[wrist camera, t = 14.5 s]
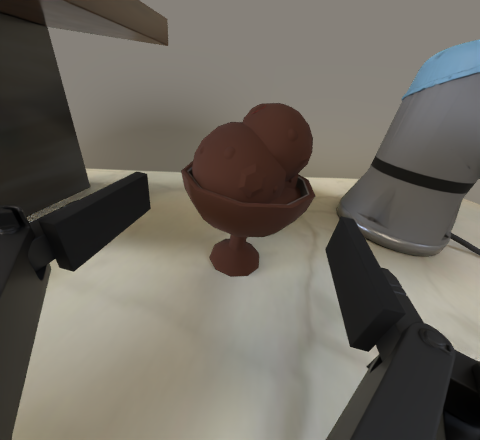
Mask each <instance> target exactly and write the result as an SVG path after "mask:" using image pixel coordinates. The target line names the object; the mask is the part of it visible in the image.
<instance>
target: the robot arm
mask: <svg viewBox="0 0 480 440" xmlns="http://www.w3.org/2000/svg"><path fill="white" fill-rule="evenodd" d="M478 179H480V40H475V41H471V42H467V43H463V44H460V45H456V46H453V47H450V48H448V49H445V50H443V51H441V52H439V53H437V54H435V55H434V56H432V57H431V58H430V59H428V60H427V61H426V62H425V63H424V64H423V66H422V67H421V68H420V70H419V72H418V73H417V75H416V77H415V79H414V81H413V83H412V84H411V86H410V88H409V90H408V91H407V93H406V94H405V95H404V96H403V98H402V103H401V105H400V107H399V109H398V111H397V113H396V115H395V117H394V119H393V121H392V123H391V125H390V127H389V129H388V131H387V134H386V135H385V138H384V140H383V141H382V144H381V146H380V148H379V150H378V152H377V154H376V156H375V158H374V160H373V162H372V164H371V166H370V168H369V169H368V171H367V172H366V173H365V174H364V175H363V176H362V177H361V178H360V179H359V180H358V181H357V183H356V184H355V185H354V186H353V187H352V188H351V189H350V190H349V191H348V192H347V193H346V194H345V195H344V196H343V197H342V199H341V201H340V203H339V205H338V207H337V213H338V215H339V217H340V220H339V222H338V224H337V226H336V229H335V231H334V233H333V235H332V237H331V239H330V241H329V243H328V245H327V247H326V249H325V250H326V254H327V258H328V262H329V266H330V270H331V274H332V278H333V281H334V285H335V289H336V293H337V297H338V301H339V305H340V309H341V313H342V317H343V321H344V325H345V329H346V332H347V336H348V340H349V344H350V347H353V348H356V349H360V350H364V351H367V352H369V351H370V350H371V349H372V348H373V347H374V346H375V345H376V346H377V349H378V352H379V355H378V356H377V357H376V358H375V359H374V360H373V361H372V362H371V363H370V364H369V365H368V366H367V368H369V369H368V371H367V373H366V374H365V376H364V378H363V379H362V381H361V383H360V384H359V386H358V388H357V389H356V391H355V393H354V394H353V396H352V397H351V399H350V401H349V402H348V404H347V406H346V407H345V409H344V411H343V412H342V414H341V416H340V417H339V419H338V421H337V422H336V424H335V426H334V427H333V429H332V431H331V432H330V434H329V435H328V437H327V439H326V440H480V362H478V361H476V360H474V359H472V358H470V357H468V356H466V355H464V354H462V353H460V352H458V351H456V350H454V348H453V346H452V344H451V343H450V342H449V341H448V339H447V338H446V337H445V336H444V335H443V334H441V333H440V332H439V331H438V330H436V329H435V328H433V327H431V326H430V325H428V324H425V323H424V322H423V321H422V319H421V317H420V316H419V314H418V313H417V311H416V309H415V308H414V306H413V304H412V303H411V301H410V299H409V298H408V296H406V293H405V291H404V289H403V288H402V286H401V285H400V283H399V281H398V280H397V278H396V277H395V276H394V275H393V274H392V273H391V272H390V271H389V270H388V269H385V268H381V267H380V265H379V264H378V262H377V260H376V258H375V256H374V255H373V253H372V251H371V249H370V247H369V246H368V244H367V242H366V240H365V238H367V239H369V240H371V241H373V242H375V243H377V244H379V245H382V246H384V247H387V248H389V249H392V250H395V251H398V252H402V253H406V254H410V255H416V256H433V255H436V254H438V253H440V251H441V250H442V249H443V248H444V247H445V246H446V245H447V244H448V242H449V240H450V238H451V239H452V240H454V241H456V242H458V243H460V244H461V245H463V246H465V247H466V248H468V249H469V250H471V251H473V252H475V253H476V254H478V255H480V249H478V248H477V247H475V246H473V245H472V244H470V243H469V242H467V241H465V240H463V239H462V238H460V237H458V236H456V235H454V234H452V233H451V230H452V228H453V226H454V223H455V220H456V217H457V214H458V211H459V208H460V205H461V201H462V199H463V198H464V196H465V195H466V194H467V192H468V191H469V190H470V189H471V188H472V186H473V185H474V184H475V183H476V181H477V180H478ZM150 209H151V207H150V197H149V188H148V178H147V174H145V173H141V172H135V173H133V174H131V175H129V176H127V177H125V178H123V179H121V180H119V181H117V182H115V183H113V184H111V185H109V186H107V187H105V188H103V189H101V190H99V191H97V192H95V193H93V194H91V195H89V196H87V197H85V198H83V199H80V200H77V201H73V202H71V203H69V204H67V205H65V207H61V208H59V209H57V211H56V210H55V211H53V212H51V213H49V214H47V215H45V216H43V217H41V218H39V219H37V220H35V221H33V222H31V223H29V221H28V219H27V217H26V215H25V213H24V211H23V209H22V208H21V207H19V206H15V205H3V206H0V440H12V433H13V429H14V424H15V420H16V416H17V412H18V407H19V403H20V399H21V395H22V390H23V386H24V382H25V378H26V373H27V369H28V365H29V361H30V356H31V352H32V348H33V344H34V339H35V335H36V331H37V327H38V322H39V318H40V314H41V310H42V305H43V301H44V297H45V293H46V288H47V284H48V280H49V276H50V271H51V266H50V264H49V263H50V262H51V261H53V260H54V259H56V261H57V263H58V265H59V267H60V268H63V269H66V270H70V271H75V270H76V269H78V268H79V267H80V266H81V265H83V264H84V263H85V262H86V261H87V260H89V259H90V258H91V257H92V256H94V255H95V254H96V253H97V252H98V251H100V250H101V249H102V248H103V247H104V246H106V245H107V244H108V243H109V242H111V241H112V240H113V239H114V238H115V237H117V236H118V235H119V234H120V233H122V232H123V231H124V230H125V229H126V228H128V227H129V226H130V225H131V224H133V223H134V222H135V221H136V220H137V219H139V218H140V217H141V216H142V215H143V214H145V213H146V212H147V211H148V210H150ZM364 237H365V238H364Z"/></svg>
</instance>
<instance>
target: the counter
mask: <svg viewBox="0 0 480 440" xmlns="http://www.w3.org/2000/svg"><path fill="white" fill-rule="evenodd" d="M47 27H52V28H59V29H65V30H71V31H77V32H83V33H90V34H96V35H102V36H109V37H115V38H121V39H128V40H134V41H141V42H146V43H153V44H159V45H165V46H168V25H167V19H166V18H165V17H163V16H162V15H160V14H159V13H157V12H156V11H154V10H153V9H151V8H150V7H148V6H146V5H145V4H144V3H142V2H140V1H139V0H0V206H3V205H15V206H19V207H21V208H22V209H23V211H24V213H25V215H26V216H28V215H30V214H32V213H35V212H37V211H39V210H41V209H43V208H45V207H48V206H50V205H52V204H54V203H56V202H58V201H61V200H63V199H65V198H67V197H69V196H71V195H74V194H76V193H78V192H80V191H82V190H85V189H87V188H89V187H90V184H89V180H88V176H87V173H86V169H85V165H84V162H83V158H82V155H81V151H80V147H79V143H78V140H77V136H76V132H75V128H74V125H73V121H72V118H71V113H70V110H69V106H68V102H67V99H66V95H65V92H64V88H63V84H62V80H61V76H60V73H59V69H58V66H57V62H56V58H55V54H54V50H53V47H52V43H51V39H50V36H49V32H48V28H47Z"/></svg>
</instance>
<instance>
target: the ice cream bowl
mask: <svg viewBox="0 0 480 440" xmlns="http://www.w3.org/2000/svg"><path fill="white" fill-rule="evenodd" d="M312 145H313V137H312V134H311V130H310V127H309V125H308V123H307V122H306V121H305V119H304V118H303V117H302V115H301V114H300V113H299V112H298V111H297V110H295V109H293V108H292V107H289V106H287V105H284V104H280V103H270V104H260V105H257V106H256V107H254V108H252V109H251V110H250V112H249V113H248V115H246V117H244V120H243V122H230V123H227V124H224V125H221V126H218V127H217V128H216V129H215V130H213V131H212V132H211V133H210V134H209V135H208V136H207V137H205V138H204V139H203V140H202V142H201V144H200V145H199V147H198V149H197V150H196V152H195V155H194V160H193V161H192V162H191V163H190V164H189V165H187V166H186V167H185V168H184V169H183V170H182V171H181V172H182V177H183V182H184V186H185V189H186V191H187V193H188V195H189V197H190V199H191V201H192V203H193V204H194V206H195V207H196V209H197V210H198V212H199V213H200V215H201V216H202V218H203V219H204V220H205V221H206V222H208V223H209V224H210V225H211V226H213V227H215V228H217V229H219V230H222V231H224V232H227V233H229V234H231V236H230V239H225V240H223V241H221V242H219V243H217V244H215V245H214V247H213V250H212V252H211V255H210V260H211V262H212V264H213V265H214V267H215V269H216V270H218V271H220V272H222V273H224V274H227V275H229V276H248V275H249V274H251V273H252V272H253V271H255V270H256V269H257V268H258V266H259V253H258V252H257V250H256V249H255V248H254V247H253V246H252V244H250V243H247V242H246V238H247V237H265V236H268V235H271V234H274V233H276V232H278V231H279V230H281V229H283V228H284V227H286V226H288V225H289V224H291V223H292V222H294V221H295V220H296V219H297V218H299V217H300V216H301V215H302V214H303V213H304V212H305V211H306V210H307V208H308V207H309V205H310V203H311V202H312V200H313V199H314V197H315V194H314V192H313V190H312V187H311V185H310V183H309V180H307V179H306V178H304V177H302V176H300V175H298V173H299V172H300V171H301V170H302V169H303V168H304V167H305V166H306V165H307V164H308V161H309V158H310V156H311V153H312Z"/></svg>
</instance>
